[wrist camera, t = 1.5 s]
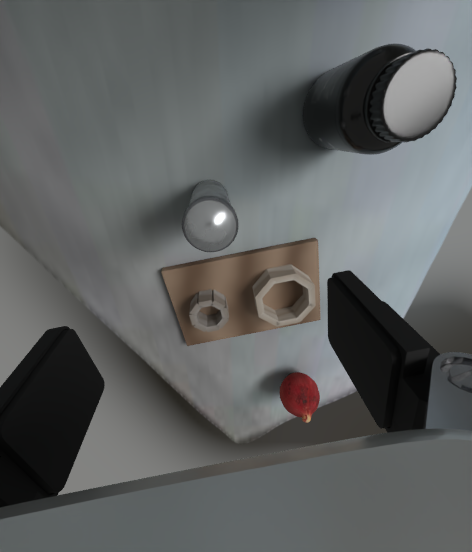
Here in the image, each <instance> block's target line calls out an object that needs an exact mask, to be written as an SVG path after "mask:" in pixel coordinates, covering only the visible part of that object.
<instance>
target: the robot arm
mask: <svg viewBox="0 0 472 552" xmlns="http://www.w3.org/2000/svg"><path fill="white" fill-rule="evenodd" d="M327 286H328V338H329V342H330V344H331V346H332V348H333V349H334V351H335V353H336V355H337V356H338V358H339V360H340V361H341V363H342V365H343V367H344V368H345V370H346V372H347V374H348V375H349V377H350V379H351V380H352V382H353V384H354V386H355V387H356V389H357V391H358V393H359V394H360V396H361V398H362V399H363V401H364V403H365V405H366V406H367V408H368V410H369V411H370V413H371V415H372V417H373V418H374V420H375V422H376V423H377V425H378V426H379V427H380V428H385V429H386V431H387V432H388V433H382V434H376V435H371V436H365V437H359V438H353V439H347V440H341V441H335V442H330V443H324V444H319V445H313V446H309V447H303V448H298V449H292V450H287V451H282V452H277V453H271V454H266V455H261V456H256V457H250V458H245V459H240V460H235V461H230V462H224V463H219V464H214V465H209V466H204V467H199V468H194V469H188V470H184V471H178V472H173V473H168V474H163V475H158V476H153V477H148V478H143V479H138V480H133V481H128V482H123V483H118V484H112V485H108V486H103V487H98V488H93V489H88V490H83V491H78V492H73V493H68V494H63V495H58V493H59V492H60V491H61V490H62V489H63V488H64V486H65V484H66V481H67V479H68V477H69V474H70V472H71V469H72V467H73V464H74V461H75V459H76V457H77V454H78V452H79V449H80V447H81V444H82V442H83V440H84V437H85V435H86V432H87V430H88V427H89V425H90V422H91V420H92V417H93V415H94V412H95V410H96V407H97V405H98V403H99V400H100V397H101V395H102V393H103V390H104V380H103V378H102V376H101V374H100V373H99V371H98V369H97V367H96V366H95V364H94V363H93V361H92V359H91V357H90V356H89V354H88V352H87V351H86V349H85V347H84V345H83V344H82V342H81V340H80V339H79V337H78V335H77V334H76V332H75V331H74V330H73V329H70V328H69V327H67V326H63V327H58V328H53V329H49V330H47V331H46V332H45V333H44V334H43V336H42V337H41V338H40V339H39V340H38V342H37V343H36V344H35V345H34V347H33V348H32V349H31V350H30V352H29V353H28V354H27V355H26V356H25V358H24V359H23V360H22V361H21V363H20V364H19V365H18V366H17V367H16V369H15V370H14V371H13V372H12V374H11V375H10V376H9V377H8V378H7V380H6V381H5V382H4V383H3V385H2V386H1V387H0V552H472V355H471V354H466V353H459V352H448V353H444V354H441V355H440V354H439V353H438V352H437V351H436V350H435V349H434V348H433V347H432V346H431V345H430V344H429V343H428V342H427V341H425V340H424V339H423V338H422V337H421V336H420V335H419V334H418V333H417V332H416V331H415V330H414V329H413V328H412V327H411V326H410V325H409V324H408V323H407V322H405V321H404V319H403V318H401V317H400V316H399V315H398V314H397V313H396V312H395V311H394V310H393V309H392V308H391V307H390V306H389V305H388V304H387V303H385V302H383V301H381V300H380V299H379V298H378V297H377V296H376V295H375V294H374V293H373V292H372V291H371V290H370V289H369V288H368V287H367V286H366V285H365V284H364V283H363V282H362V281H360V280H359V279H358V278H357V277H356V276H355V275H354V274H353V273H352V272H351V271H343V272H338V273H333V275H332V278H329V279H328V282H327ZM57 495H58V496H57Z"/></svg>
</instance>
